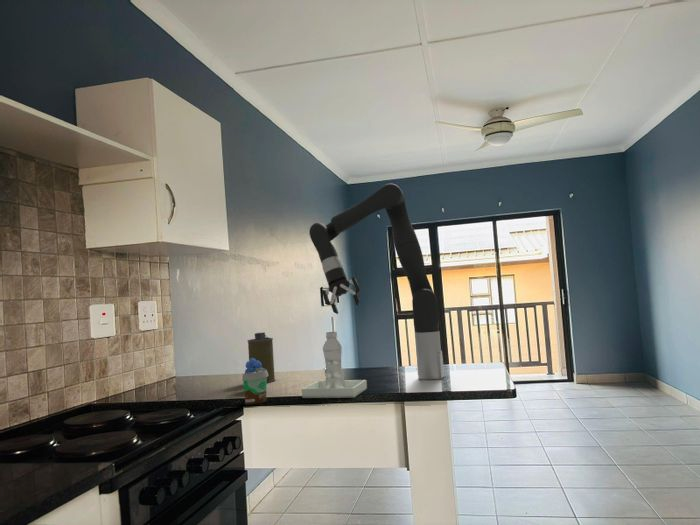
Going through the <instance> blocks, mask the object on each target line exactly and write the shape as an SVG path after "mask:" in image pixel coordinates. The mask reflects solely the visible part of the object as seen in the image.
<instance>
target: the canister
mask: <svg viewBox="0 0 700 525" xmlns="http://www.w3.org/2000/svg"><path fill="white" fill-rule="evenodd" d="M273 340H274V338H273V337H269V336H267V335H266V333H265V332H256V333H254V338H252V339H247V345H248V361H250V359H251V358H254V359H255V360H256V361H257V360H258V361H260V362H261V364H262V366H261V367H262V368H264V369H266V370H267V372H268V375H269V376H268V377H267V384H271V383H274V382H275V381H276V378H275V361H274V360H275V359H274V347H273V346H274V343H273Z"/></svg>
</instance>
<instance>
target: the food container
mask: <svg viewBox="0 0 700 525" xmlns="http://www.w3.org/2000/svg"><path fill="white" fill-rule="evenodd" d="M268 376H269V375H268V372H267V370H266V369H256V371H255V372H251V373H249V374H245V373H242V382H243V383H242V384H243V391H244V404H245V406H247V405H256V404H261V403H265V402H267V384H268V383H267V377H268Z"/></svg>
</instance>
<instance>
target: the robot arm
mask: <svg viewBox="0 0 700 525" xmlns="http://www.w3.org/2000/svg"><path fill="white" fill-rule="evenodd" d="M383 209H384V210H385V211H386V214H387V216H388V218H389V222H390V225H391V233H392V240H393V245H394V248H395V252H396V256H397V258H398V261H399V263H400V265H401V268H402V271H403V272H404V274H405V276H406V278H407V281H408V284H409V288H410V292H411V298H412V300H411V301H412V302H411V305H412V306H411V307H412V315H413V317H412V318H413V327H414V339H415V352H416V365H417V366H416V367H417V375H418V376H417V377H418V379H419V380H439V379H440V380H441V379H443V378H444V377H445V372H444V371H445V370H444V359H443V357H444V356H443V351H442V347H441V333H440V321H439V320H440V318H439V306H438V298H437V295H436V294H435V292H434V291H433V288H432V286H431V284H430V281H429V279H428V276H427V273H426V272H427V271H426V266H425V260H424V255H423V252H422V248H421V245H420V243H419V238H418V237H417V234H416V231H415V229H414V227H413V224H412V223H411V220H410V218H409V214H408V210H407V206H406V200H405V196H404V191H403V190H402V189H401V188H400V187H399V185H397V184H395V183H386V184H384V185H382V186H381V187H380V188H379V189H378V190H376V191H375V192H373V193H372V194H371V195H370V196H368V197H366V198H364V199H363V200H362V201H361V202H359V203H358V202H357V204H355V205H353V206H351V207H349V208H347V209H345V210H343V211H341V212H340V213H337V214H336V215H334V216H332V218H330V222H329V223H327V224H326V225H325V224H324V223H321V222H315V223H313V224H312V225H310V227H309V237H310V240H311V242H312V244H313V246H314V248H315V250H316V252H317V254H318V257H319V260H320V262H321V266H322V271H323V273H324V276H325V279H326V282H327V284H328V288H327V289H322V290H321V294H322V296H323V300H324V304H325V305H326V306H330V307H331V309H332V312H333V313H334V314H336V315H338V314H339V309H338V308H337V307H338V306H337V305H336V301H337V300H338V297H341V296H343V295H346V294H347V293H349V294H352V298H353V300H354V303H355V306H359V305H360V303H361V302H360V301H361V300H360V299H359V296H358V295H359V294H360V293H361V292H362V289H361V287H360V285H359V283H358V281H357V278H355V277H351V278H350V279H349V280H348V278H347V276H346V275H347V274H346V273H345V270H344V266H343V264H342V261H341V260H340V258H339V255H338V252H337V250H336V247H335V246H334V245H333V244H332V241H333V240H334V239H335V238H336V237H338V236H340V234H341V233H343V232H345V231H347V230H349V229H351V228H353V227H355V226H356V225H358V224H359V223H361V222H362V221H363V220H365V219H366V218H368V217H370V216H371V215H372V214H375V213H376V212H378V211H382V210H383ZM351 285H354V288H355V290H353V289H351V288H350V286H351ZM330 293H331V297H330V298H329V295H330Z"/></svg>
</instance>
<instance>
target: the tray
mask: <svg viewBox="0 0 700 525" xmlns="http://www.w3.org/2000/svg"><path fill="white" fill-rule="evenodd" d="M344 382H345V385H344V388H326V386H325V380H317V381H315V382H312V383H311V384H308V385H306V386H305V387H302V388H301V398H302V399H313V398H314V399H318V398H319V399H323V398H324V399H329V398H330V399H331V398H332V399H334V398H335V399H337V398H338V399H342V398H343V399H345V398H346V399H351V398H354V399H355V398H356V397H357V396H358V395H360V394H362V393H363V392H365V391H366V390H368V383H367V379H352V380H351V379H349V380H347V379H344Z"/></svg>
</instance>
